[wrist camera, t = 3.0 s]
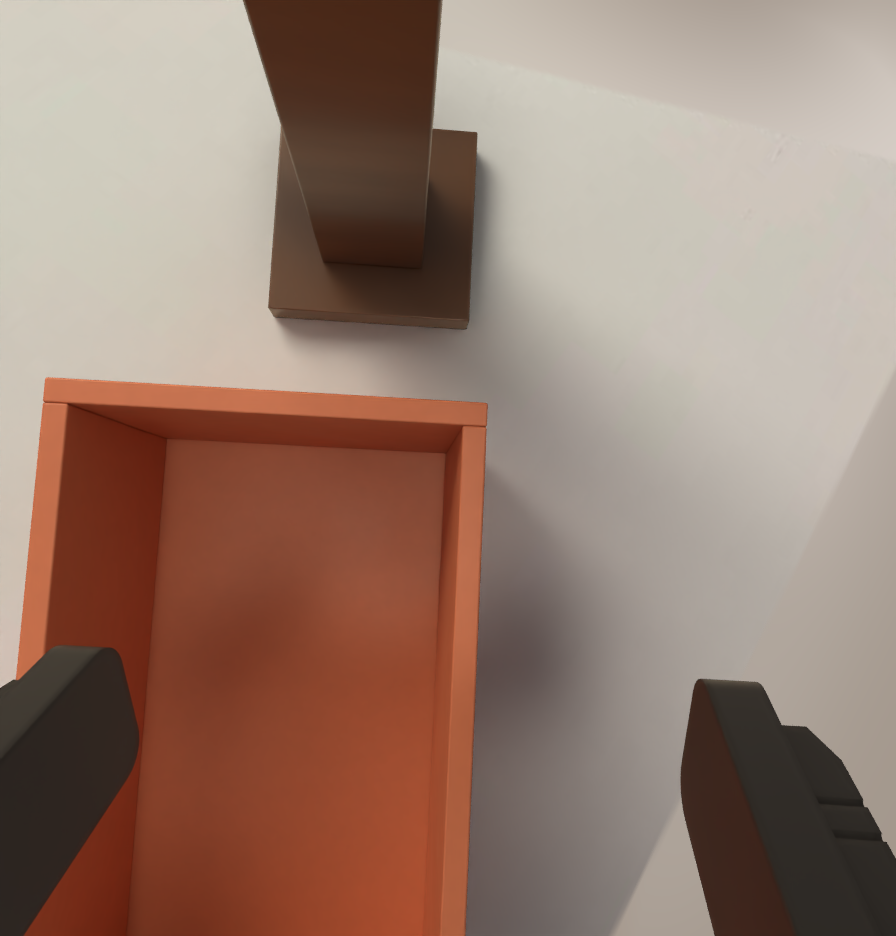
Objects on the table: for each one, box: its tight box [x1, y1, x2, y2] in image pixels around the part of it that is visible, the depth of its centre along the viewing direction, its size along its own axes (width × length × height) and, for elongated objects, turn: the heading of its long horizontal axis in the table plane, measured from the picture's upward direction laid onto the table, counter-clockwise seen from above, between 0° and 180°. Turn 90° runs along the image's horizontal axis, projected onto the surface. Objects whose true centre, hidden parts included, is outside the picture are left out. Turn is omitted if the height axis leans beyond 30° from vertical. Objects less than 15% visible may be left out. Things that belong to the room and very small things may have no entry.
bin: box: [16, 377, 488, 936], centre depth 23 cm, size 20×12×9 cm, turn 177°
